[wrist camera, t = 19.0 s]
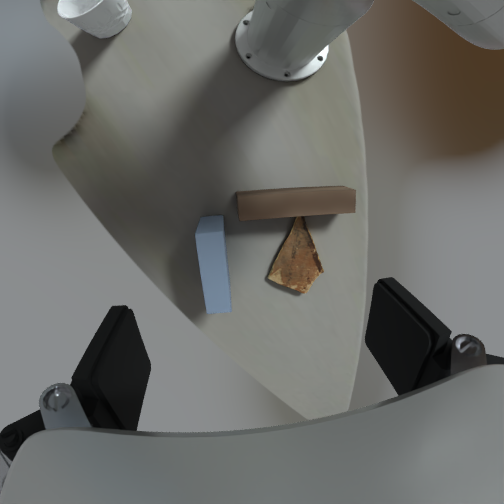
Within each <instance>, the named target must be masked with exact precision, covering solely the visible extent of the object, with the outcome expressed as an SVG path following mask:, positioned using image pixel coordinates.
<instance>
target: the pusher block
mask: <svg viewBox="0 0 504 504" xmlns="http://www.w3.org/2000/svg"><path fill="white" fill-rule="evenodd" d="M195 238H196V245H197V253H198V260H199V267H200V273H201V280H202V286H203V293H204V299H205V305H206V311H207V314H212V313H223V312H232V308H231V292H230V278H229V269H228V260H227V250H226V240H225V230H224V219H223V215H217V216H207V217H201V218H200V221H199V224H198V227H197V230H196V233H195Z"/></svg>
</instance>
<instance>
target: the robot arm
mask: <svg viewBox="0 0 504 504" xmlns="http://www.w3.org/2000/svg"><path fill="white" fill-rule="evenodd" d="M373 1H374V0H256V1H255V5H254V9H253V10H252V11H251V12H249V13H248V14H246V15H245V17H244V18H243V19H242V20H241V21H240V23H239V25H238V27H237V30H236V35H235V44H236V48H237V51H238V54H239V55H240V57H241V59H242V60H243V61H244V63H245V64H246V65H247V66H248V67H249V68H251V69H252V70H253V71H255V72H256V73H258V74H260V75H262V76H264V77H267V78H269V79H273V80H278V81H297V80H301V79H304V78H307V77H309V76H311V75H312V74H314V73H315V72H316V71H318V70H319V69H320V68H321V67H322V66H323V64H324V63H325V61H326V58H327V55H328V49H329V44H330V43H331V42H332V41H333V40H334V39H336V38H337V37H338V36H339V35H340V34H341V33H342V32H344V31H345V30H346V29H347V28H348V27H349V26H351V25H352V24H353V23H354V22H355V21H357V20H358V19H359V18H360V17H361V16H363V15H364V14H365V13H366V12H367V11H368V10H369V9H370V7H371V5H372V4H373ZM413 1H415V2H416V3H418V4H419V5H420V6H422V7H423V8H425V9H426V10H427V11H429V12H430V13H431V14H433V15H434V16H436V17H437V18H438V19H439V20H441V21H442V22H444V23H445V24H446V25H447V26H449V27H450V28H451V29H452V30H453V31H455V32H456V33H457V34H459V35H460V36H461V37H463V38H464V39H466V40H468V41H469V42H471V43H473V44H475V45H477V46H480V47H482V48H487V49H503V48H504V0H413ZM244 24H247V25H244ZM246 57H250V59H247V58H246ZM318 59H319V60H320V61H319V60H318ZM285 74H286V75H287V76H288V77H285V76H284V75H285ZM450 334H451V330H450V329H448V328H447V326H445V325H444V324H443V323H442V322H441V321H440V320H439V319H438V318H437V317H436V316H435V315H434V314H433V313H432V312H431V311H430V310H429V309H427V308H426V307H425V306H424V305H423V304H422V303H421V302H420V301H419V300H418V299H417V298H415V297H414V296H413V295H412V294H411V293H410V292H409V291H408V290H407V289H405V288H404V287H403V286H402V285H401V284H400V283H399V282H397V281H396V280H395V279H394V278H392V277H390V278H383V279H379V280H378V282H377V283H376V284H375V285H374V288H373V295H372V301H371V307H370V313H369V319H368V324H367V330H366V335H365V343H366V345H367V347H368V348H369V350H370V352H371V353H372V355H373V356H374V358H375V359H376V361H377V362H378V364H379V365H380V367H381V368H382V370H383V372H384V373H385V375H386V376H387V378H388V379H389V381H390V382H391V384H392V386H393V387H394V389H395V391H396V392H397V394H398V395H399V396H397V397H394V398H391V399H388V400H385V401H382V402H379V403H376V404H372V405H369V406H366V407H362V408H359V409H355V410H352V411H347V412H343V413H339V414H335V415H331V416H327V417H322V418H318V419H313V420H308V421H302V422H297V423H292V424H285V425H278V426H271V427H264V428H255V429H245V430H234V431H219V432H190V433H189V432H187V433H186V432H185V433H184V432H183V433H182V432H146V431H137V426H138V421H139V417H140V413H141V408H142V404H143V399H144V395H145V391H146V387H147V383H148V379H149V375H150V371H151V363H150V360H149V357H148V354H147V352H146V349H145V346H144V343H143V341H142V338H141V335H140V332H139V329H138V326H137V322H136V320H135V316H134V313H133V311H132V310H131V309H128V307H127V306H126V305H123V306H112V307H111V309H110V310H109V312H108V313H107V315H106V317H105V318H104V320H103V322H102V323H101V325H100V327H99V328H98V330H97V332H96V333H95V335H94V337H93V339H92V340H91V342H90V344H89V346H88V348H87V349H86V351H85V353H84V355H83V357H82V359H81V361H80V362H79V364H78V366H77V368H76V370H75V372H74V374H73V376H72V382H71V384H70V385H68V384H65V383H57V384H54V385H51V386H50V387H48V388H47V389H46V390H45V391H44V392H43V393H42V395H41V396H40V399H39V407H40V410H38V411H36V412H34V413H32V414H30V415H28V416H26V417H24V418H22V419H20V420H18V421H16V422H14V423H12V424H10V425H8V426H6V427H5V428H4V429H3V430H2V431H1V433H0V504H504V358H502V357H498V356H494V355H489V354H486V351H485V347H484V344H483V343H482V342H481V340H479V339H478V338H477V337H474V336H473V335H469V334H459V335H457V336H455V337H454V338H453V340H451V339H450V338H449V337H450Z"/></svg>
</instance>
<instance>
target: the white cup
mask: <svg viewBox="0 0 504 504" xmlns="http://www.w3.org/2000/svg"><path fill="white" fill-rule="evenodd" d="M57 11H58V14H59V15H60V16H61V17H62V18H64V19H66V20H67V21H69V22H71V23H72V24H74V25H75V26H77V27H79V28H80V29H82V30H84V31H85V32H87V33H90V34H91V35H93V36H95V37H97V38H100V39H101V38H109V37H111V36H113V35H115V34H118V33H119V32H120V31H121V30H122V29H124V28H125V27H126V26H127V24H128V23H129V21H130V19H131V14H132V10H131V8H130V6H129V5H128V2H127V0H59V2H58V6H57Z"/></svg>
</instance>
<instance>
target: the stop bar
mask: <svg viewBox="0 0 504 504" xmlns="http://www.w3.org/2000/svg"><path fill="white" fill-rule="evenodd" d="M236 196H237V209H238V217H239V221H247V220H258V219H270V218H283V217H296V216H311V215H326V214H342V213H355V204H356V190H354V189H351V188H348V187H345V186H324V187H300V188H281V189H266V190H252V191H240V192H236Z"/></svg>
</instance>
